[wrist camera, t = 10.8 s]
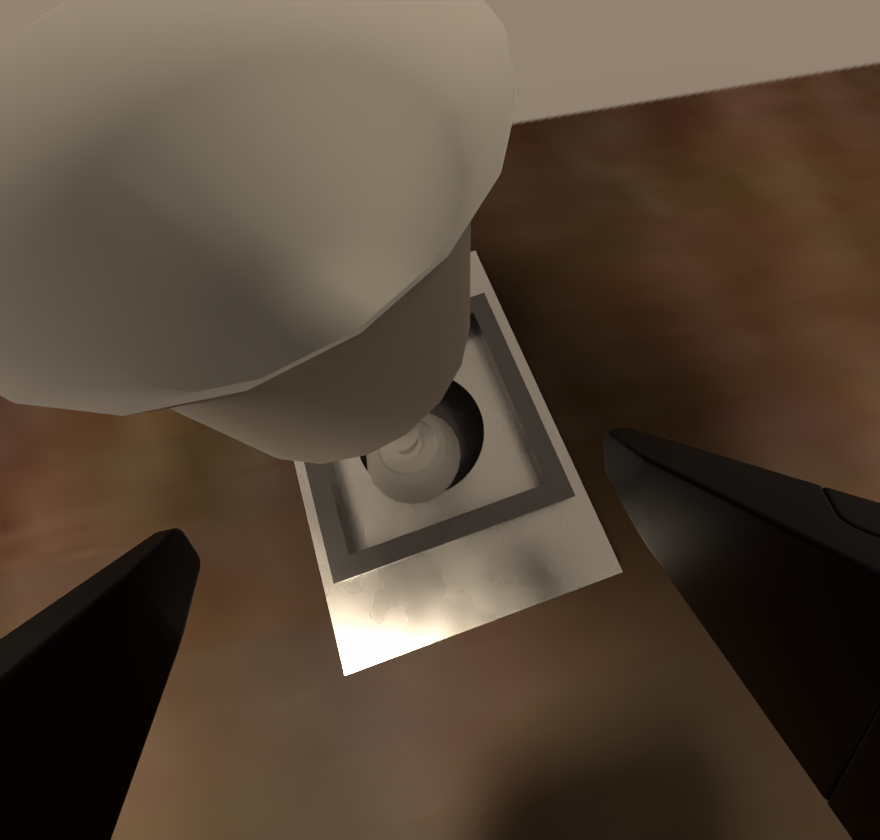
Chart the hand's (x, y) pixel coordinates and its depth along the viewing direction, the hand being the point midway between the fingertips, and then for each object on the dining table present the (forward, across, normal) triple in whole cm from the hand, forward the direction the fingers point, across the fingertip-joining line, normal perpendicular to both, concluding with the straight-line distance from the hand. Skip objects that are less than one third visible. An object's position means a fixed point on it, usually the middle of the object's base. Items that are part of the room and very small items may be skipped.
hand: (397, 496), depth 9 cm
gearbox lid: (+13, 0, +6) cm, 14 cm away
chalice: (+12, +1, +6) cm, 13 cm away
